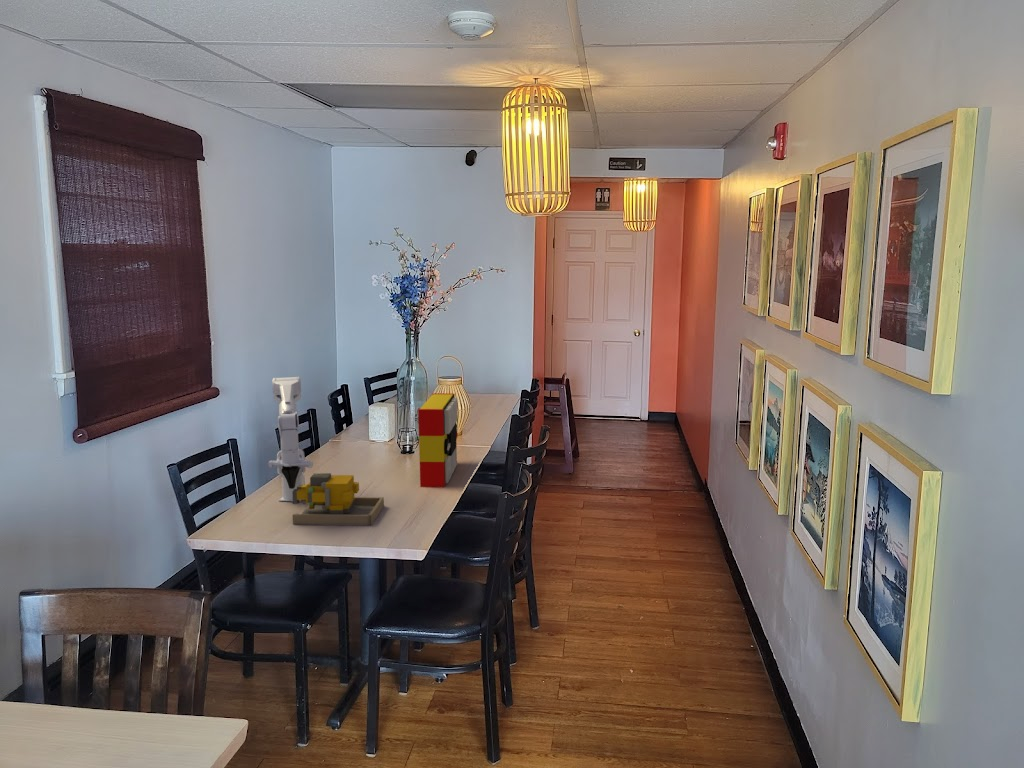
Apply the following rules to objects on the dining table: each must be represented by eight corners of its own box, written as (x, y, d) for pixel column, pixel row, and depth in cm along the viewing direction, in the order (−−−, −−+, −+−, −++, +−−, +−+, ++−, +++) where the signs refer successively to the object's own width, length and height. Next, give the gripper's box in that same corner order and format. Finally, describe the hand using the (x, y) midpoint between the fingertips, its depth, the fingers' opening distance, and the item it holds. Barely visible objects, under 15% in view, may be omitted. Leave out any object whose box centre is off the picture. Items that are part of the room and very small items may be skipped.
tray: (311, 505, 272) (310, 496, 271) (384, 506, 270) (383, 497, 270) (292, 524, 253) (292, 514, 252) (371, 525, 251) (370, 515, 251)
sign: (448, 487, 291) (447, 409, 286) (420, 487, 292) (418, 409, 287) (459, 463, 324) (458, 393, 318) (434, 463, 324) (432, 393, 319)
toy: (291, 519, 255) (351, 518, 255) (289, 481, 253) (350, 480, 254) (302, 506, 269) (359, 505, 269) (300, 470, 267) (358, 470, 268)
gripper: (264, 451, 255) (266, 491, 257) (307, 452, 254) (309, 491, 256) (272, 446, 262) (274, 484, 264) (313, 446, 261) (316, 485, 263)
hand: (292, 487), depth 261 cm, fingers closed
